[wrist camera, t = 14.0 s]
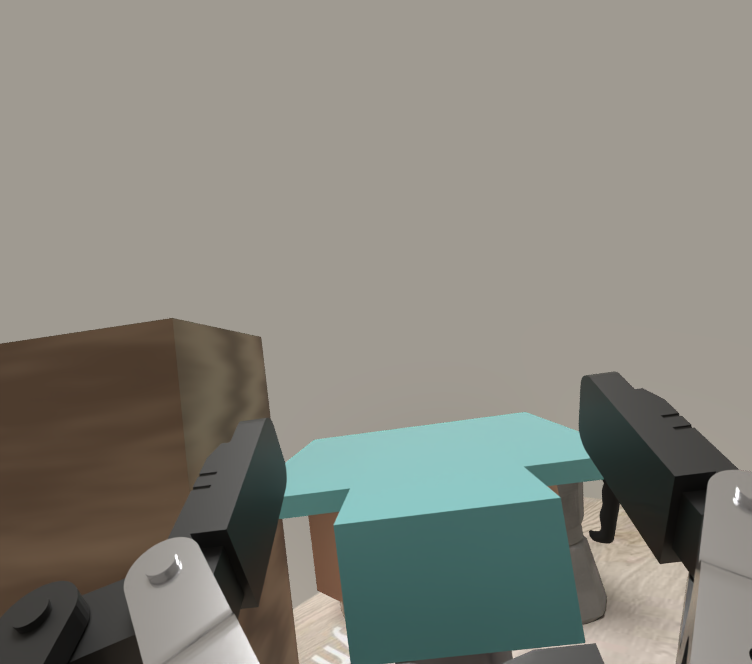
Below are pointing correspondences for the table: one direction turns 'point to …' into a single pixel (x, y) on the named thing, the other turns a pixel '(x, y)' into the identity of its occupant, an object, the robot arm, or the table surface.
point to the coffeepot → (587, 546)
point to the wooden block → (123, 455)
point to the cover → (448, 534)
